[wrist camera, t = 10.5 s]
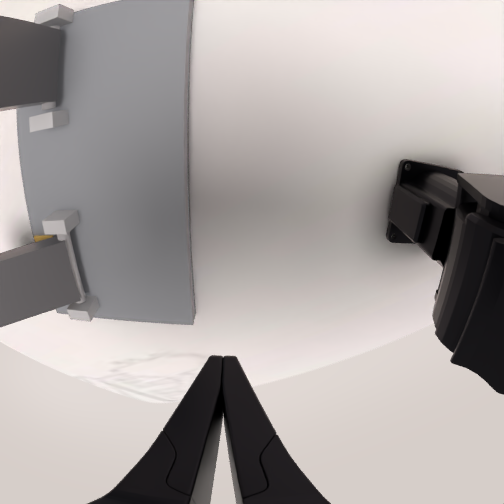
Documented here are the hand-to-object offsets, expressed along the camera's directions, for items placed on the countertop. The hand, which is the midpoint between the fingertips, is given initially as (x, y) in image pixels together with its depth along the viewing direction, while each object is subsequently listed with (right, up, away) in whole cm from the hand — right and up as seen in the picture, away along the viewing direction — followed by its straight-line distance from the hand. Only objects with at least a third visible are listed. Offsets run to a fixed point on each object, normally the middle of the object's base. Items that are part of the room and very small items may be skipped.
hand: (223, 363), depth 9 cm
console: (-10, +9, +9) cm, 16 cm away
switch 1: (-12, +15, +3) cm, 20 cm away
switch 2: (-12, +2, +10) cm, 16 cm away
